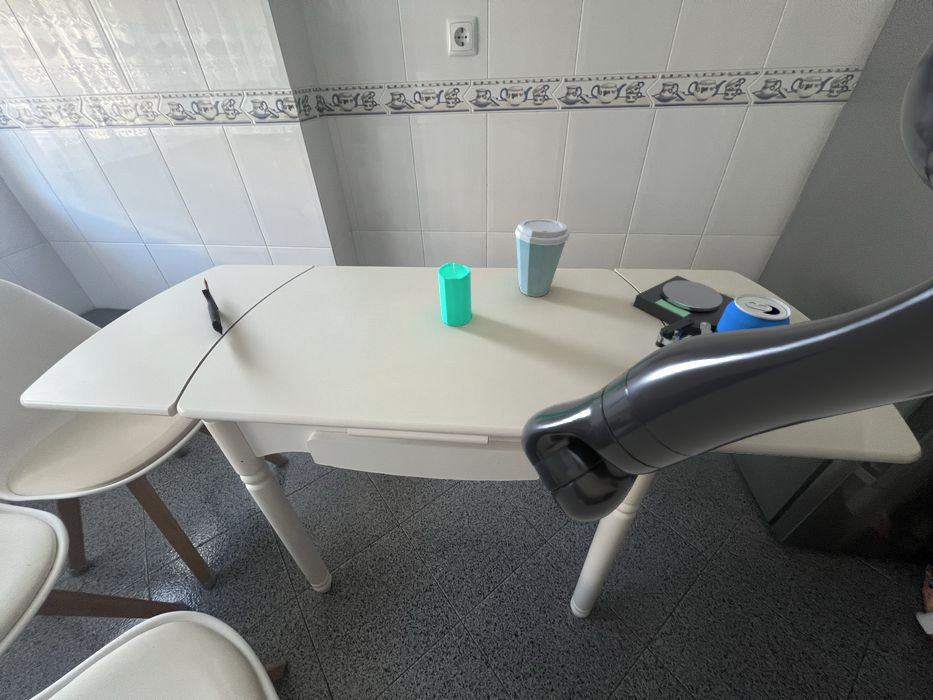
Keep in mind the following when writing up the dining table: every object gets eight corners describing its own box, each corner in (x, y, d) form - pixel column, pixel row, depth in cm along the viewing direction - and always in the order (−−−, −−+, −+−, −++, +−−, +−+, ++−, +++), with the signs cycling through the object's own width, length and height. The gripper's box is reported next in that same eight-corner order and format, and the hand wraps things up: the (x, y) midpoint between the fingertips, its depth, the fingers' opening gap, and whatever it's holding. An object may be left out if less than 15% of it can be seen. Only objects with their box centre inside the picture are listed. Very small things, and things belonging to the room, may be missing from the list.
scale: (699, 339, 66) (705, 327, 64) (633, 305, 75) (636, 294, 73) (739, 314, 71) (745, 302, 70) (673, 285, 80) (677, 274, 79)
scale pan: (701, 282, 75) (702, 278, 75) (733, 309, 67) (735, 306, 67) (652, 285, 75) (653, 281, 74) (678, 313, 67) (679, 309, 66)
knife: (227, 336, 70) (215, 314, 67) (219, 339, 69) (206, 317, 66) (213, 286, 85) (202, 267, 82) (206, 288, 85) (195, 269, 81)
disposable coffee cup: (511, 277, 85) (515, 212, 75) (557, 278, 84) (568, 213, 74) (511, 301, 77) (515, 232, 67) (562, 303, 76) (574, 233, 66)
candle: (437, 313, 74) (432, 259, 66) (463, 306, 76) (461, 252, 68) (448, 329, 70) (444, 273, 62) (476, 321, 72) (476, 265, 64)
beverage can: (744, 402, 47) (794, 327, 40) (689, 381, 50) (726, 309, 43) (750, 374, 51) (797, 301, 44) (699, 357, 54) (735, 286, 47)
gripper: (762, 402, 34) (835, 338, 41) (630, 329, 43) (707, 287, 50) (727, 451, 38) (798, 386, 45) (615, 375, 48) (688, 331, 55)
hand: (750, 334), depth 48 cm, fingers closed on beverage can, 6 cm apart
